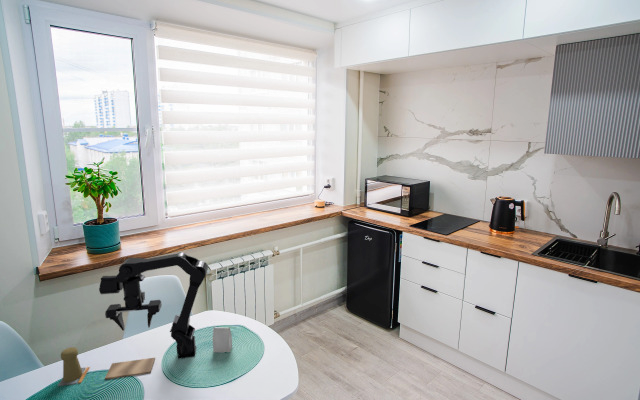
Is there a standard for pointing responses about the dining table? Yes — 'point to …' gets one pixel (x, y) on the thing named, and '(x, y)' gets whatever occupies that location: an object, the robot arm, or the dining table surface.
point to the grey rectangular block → (222, 339)
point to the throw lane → (121, 370)
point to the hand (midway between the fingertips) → (136, 328)
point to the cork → (71, 365)
